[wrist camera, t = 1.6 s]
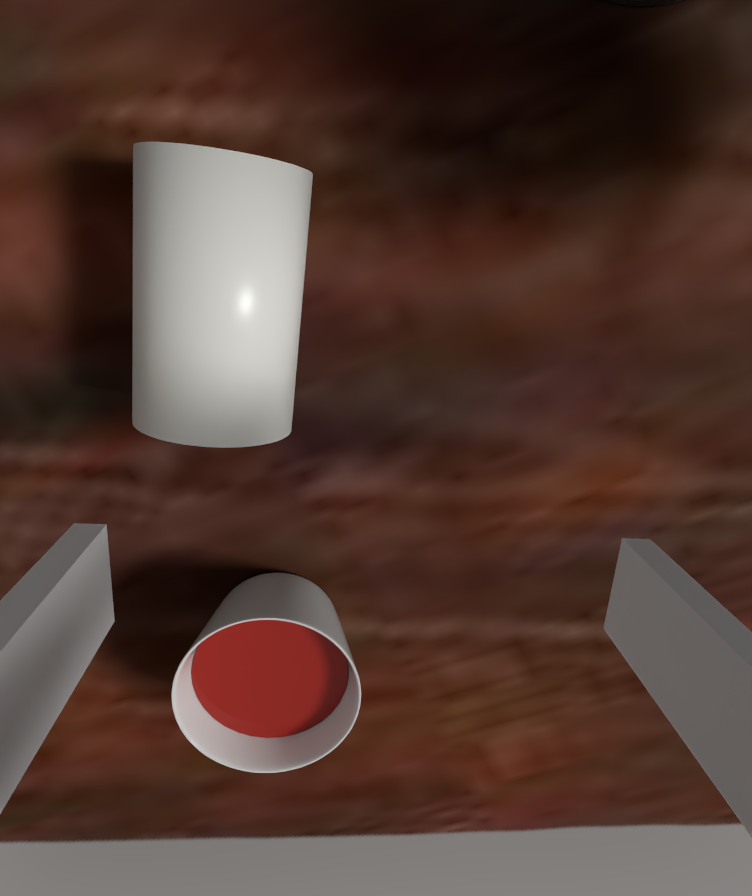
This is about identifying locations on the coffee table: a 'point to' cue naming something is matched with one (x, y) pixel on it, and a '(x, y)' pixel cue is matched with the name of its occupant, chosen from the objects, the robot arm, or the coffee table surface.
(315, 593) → the candle
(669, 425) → the coffee table surface
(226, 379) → the paper roll
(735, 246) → the coffee table surface
